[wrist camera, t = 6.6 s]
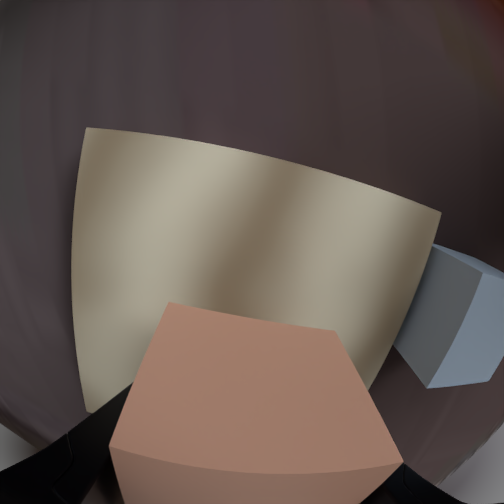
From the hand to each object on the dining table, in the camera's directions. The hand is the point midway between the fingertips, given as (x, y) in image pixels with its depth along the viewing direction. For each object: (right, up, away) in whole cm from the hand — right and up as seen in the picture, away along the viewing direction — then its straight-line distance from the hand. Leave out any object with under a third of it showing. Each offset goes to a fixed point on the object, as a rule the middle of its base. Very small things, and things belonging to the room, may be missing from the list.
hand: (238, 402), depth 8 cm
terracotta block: (0, 0, +1) cm, 1 cm away
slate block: (+10, +2, +6) cm, 12 cm away
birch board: (0, +2, +5) cm, 5 cm away
